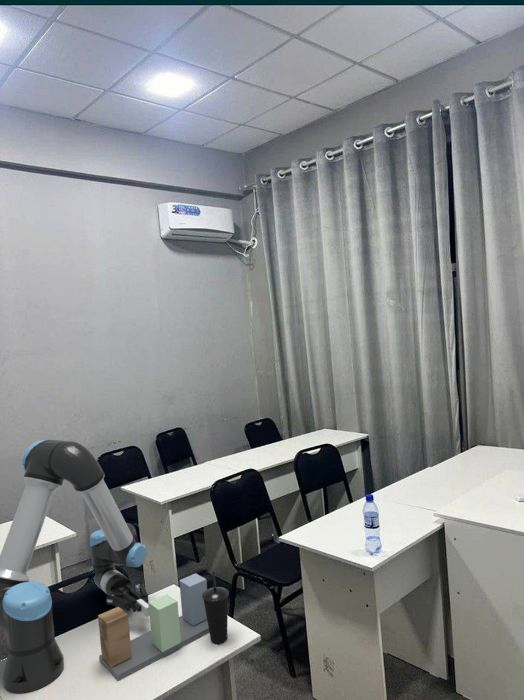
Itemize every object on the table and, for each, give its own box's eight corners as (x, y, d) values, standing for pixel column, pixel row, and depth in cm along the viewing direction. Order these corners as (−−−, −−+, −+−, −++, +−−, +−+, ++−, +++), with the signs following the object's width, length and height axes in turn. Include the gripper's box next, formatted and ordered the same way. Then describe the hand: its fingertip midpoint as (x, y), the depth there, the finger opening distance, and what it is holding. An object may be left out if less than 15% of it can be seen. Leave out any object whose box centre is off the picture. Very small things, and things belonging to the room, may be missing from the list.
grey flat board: (99, 660, 145) (99, 655, 145) (195, 613, 165) (195, 609, 165) (118, 680, 135) (117, 675, 135) (217, 628, 156) (217, 623, 156)
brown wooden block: (101, 657, 143) (97, 615, 143) (122, 647, 147) (118, 606, 146) (111, 667, 138) (107, 623, 138) (131, 656, 142) (127, 614, 142)
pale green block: (151, 643, 148) (148, 602, 147) (170, 634, 152) (166, 594, 151) (162, 652, 143) (158, 609, 143) (181, 642, 147) (177, 601, 147)
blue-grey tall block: (182, 618, 160) (179, 580, 159) (198, 610, 164) (195, 573, 163) (193, 625, 155) (189, 586, 155) (209, 617, 159) (206, 579, 159)
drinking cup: (220, 650, 145) (214, 580, 144) (200, 642, 150) (194, 574, 149) (237, 636, 151) (232, 569, 150) (218, 628, 156) (212, 563, 155)
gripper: (135, 588, 177) (169, 614, 159) (98, 604, 169) (129, 633, 150) (133, 567, 176) (167, 591, 158) (96, 581, 168) (127, 608, 150)
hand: (148, 611), depth 154 cm, fingers closed
